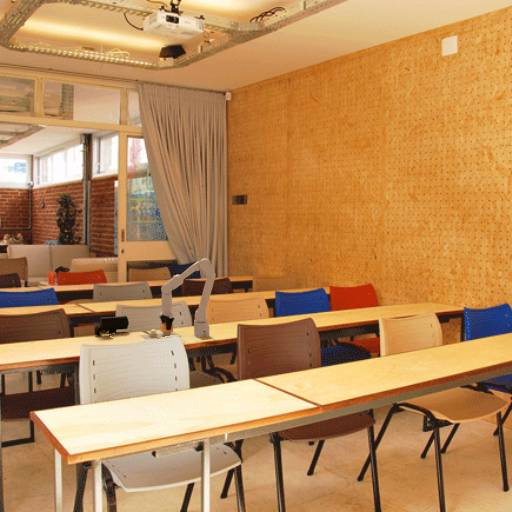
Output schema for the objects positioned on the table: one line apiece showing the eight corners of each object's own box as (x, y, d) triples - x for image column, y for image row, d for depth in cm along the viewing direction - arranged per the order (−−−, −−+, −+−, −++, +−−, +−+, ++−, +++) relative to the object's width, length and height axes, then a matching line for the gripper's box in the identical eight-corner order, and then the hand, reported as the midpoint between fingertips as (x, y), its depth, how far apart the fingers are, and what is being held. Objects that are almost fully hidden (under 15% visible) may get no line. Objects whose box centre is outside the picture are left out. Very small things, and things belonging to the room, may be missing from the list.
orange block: (173, 331, 355) (173, 324, 355) (163, 332, 353) (163, 324, 352) (169, 330, 360) (169, 322, 360) (160, 331, 357) (160, 323, 357)
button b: (156, 333, 352) (156, 330, 352) (151, 334, 351) (151, 330, 351) (154, 333, 354) (154, 329, 354) (150, 333, 353) (150, 329, 353)
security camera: (94, 335, 362) (94, 317, 361) (126, 332, 369) (126, 315, 369) (96, 337, 355) (96, 319, 354) (129, 334, 363) (129, 317, 362)
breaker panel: (180, 338, 354) (180, 333, 354) (146, 341, 345) (146, 336, 345) (173, 334, 365) (173, 329, 364) (139, 337, 355) (139, 332, 355)
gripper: (155, 303, 360) (155, 327, 361) (164, 307, 347) (164, 331, 348) (167, 302, 363) (167, 326, 364) (176, 306, 350) (176, 330, 351)
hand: (166, 329), depth 356 cm, fingers closed on orange block, 5 cm apart
